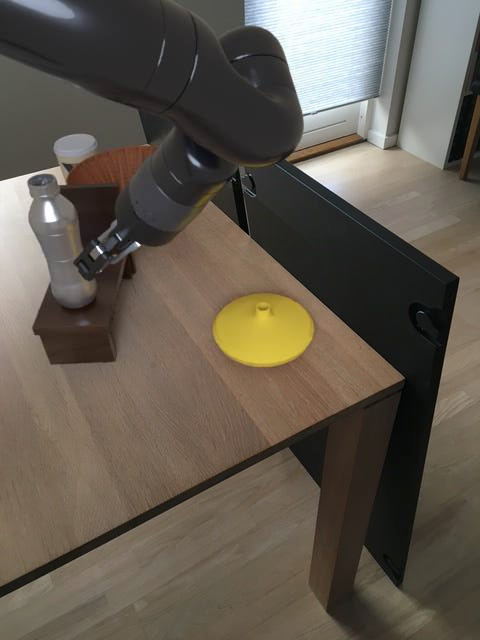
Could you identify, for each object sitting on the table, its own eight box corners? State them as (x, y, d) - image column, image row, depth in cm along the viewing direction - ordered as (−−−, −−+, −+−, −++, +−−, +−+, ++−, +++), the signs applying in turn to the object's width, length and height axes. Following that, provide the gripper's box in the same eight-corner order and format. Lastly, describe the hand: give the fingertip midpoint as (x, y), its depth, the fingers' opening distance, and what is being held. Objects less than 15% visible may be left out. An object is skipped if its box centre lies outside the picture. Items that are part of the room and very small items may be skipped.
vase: (235, 390, 78) (232, 356, 73) (200, 323, 89) (196, 290, 84) (331, 358, 82) (335, 324, 77) (287, 298, 93) (287, 265, 88)
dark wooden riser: (117, 362, 83) (92, 268, 71) (47, 366, 83) (9, 272, 71) (136, 270, 101) (118, 182, 89) (78, 272, 101) (52, 185, 89)
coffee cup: (70, 206, 120) (56, 154, 112) (63, 187, 126) (49, 138, 118) (111, 196, 122) (100, 145, 114) (102, 179, 129) (91, 130, 121)
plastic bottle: (77, 282, 85) (42, 164, 72) (109, 295, 83) (78, 175, 69) (47, 304, 81) (3, 184, 68) (79, 319, 79) (40, 197, 65)
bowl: (218, 235, 109) (214, 183, 101) (97, 271, 101) (83, 218, 93) (174, 183, 126) (167, 136, 118) (67, 211, 118) (53, 162, 110)
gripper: (185, 143, 60) (130, 210, 73) (90, 196, 51) (46, 261, 64) (226, 197, 61) (165, 254, 74) (140, 258, 52) (87, 310, 65)
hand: (110, 257), depth 69 cm, fingers open, 8 cm apart
